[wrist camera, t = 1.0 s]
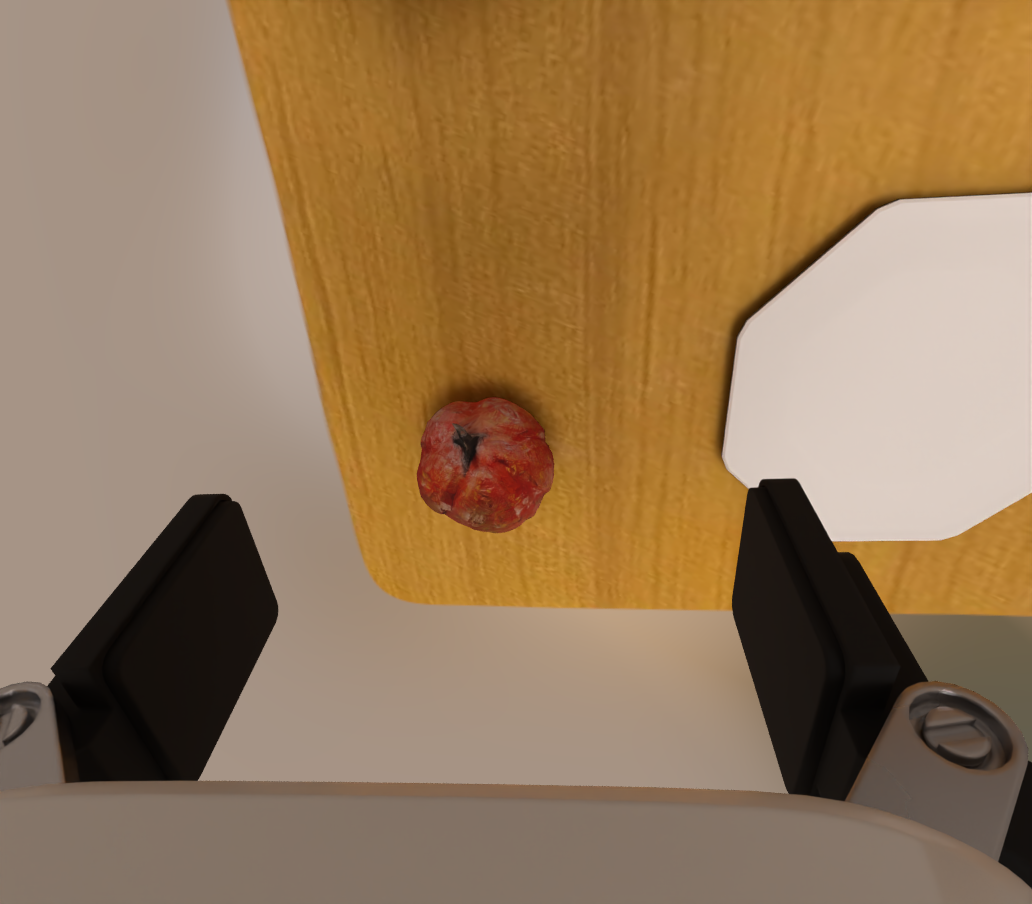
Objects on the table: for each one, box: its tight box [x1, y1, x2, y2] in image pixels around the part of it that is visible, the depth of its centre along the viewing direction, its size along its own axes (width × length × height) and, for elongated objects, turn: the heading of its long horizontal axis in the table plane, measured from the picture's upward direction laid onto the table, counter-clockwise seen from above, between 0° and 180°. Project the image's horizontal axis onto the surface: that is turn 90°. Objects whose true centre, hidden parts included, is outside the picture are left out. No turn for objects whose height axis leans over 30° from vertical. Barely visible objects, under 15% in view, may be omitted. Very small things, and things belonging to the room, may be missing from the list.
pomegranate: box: [417, 397, 554, 533], centre depth 35 cm, size 7×7×10 cm
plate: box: [721, 192, 1032, 541], centre depth 34 cm, size 20×20×2 cm
